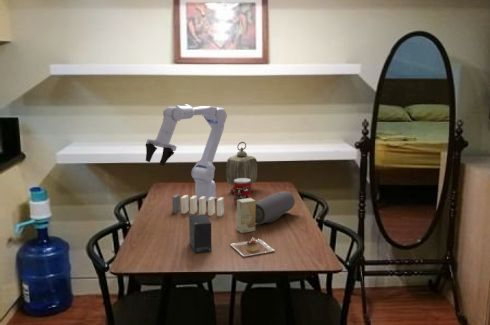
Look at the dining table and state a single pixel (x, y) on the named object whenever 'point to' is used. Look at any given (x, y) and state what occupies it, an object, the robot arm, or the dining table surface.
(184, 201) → the domino
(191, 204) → the domino
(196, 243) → the small box
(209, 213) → the domino
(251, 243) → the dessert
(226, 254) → the dining table surface
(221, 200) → the domino
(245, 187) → the canned food
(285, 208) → the bluetooth speaker
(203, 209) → the domino
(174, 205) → the domino
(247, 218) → the skincare box
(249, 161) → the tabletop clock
